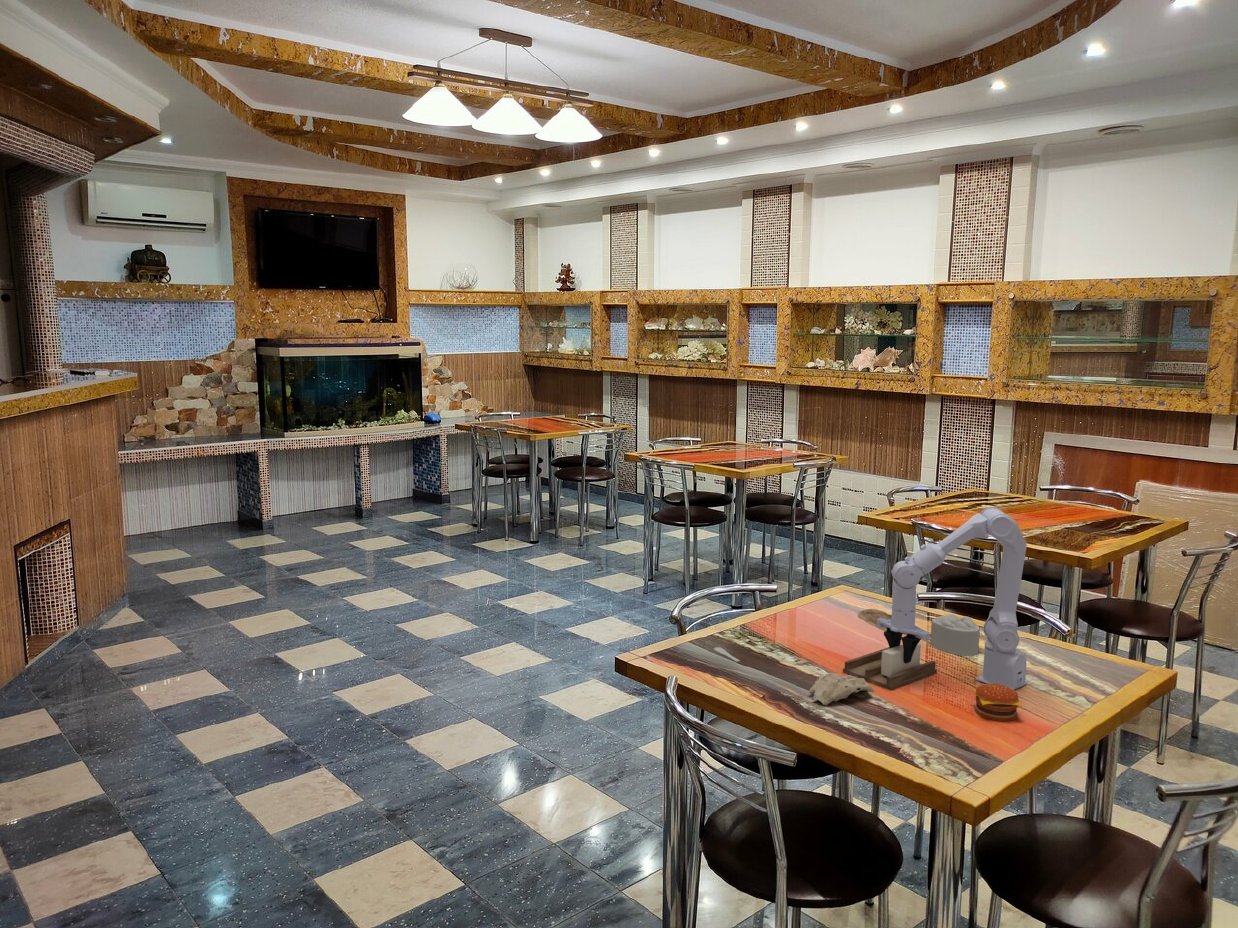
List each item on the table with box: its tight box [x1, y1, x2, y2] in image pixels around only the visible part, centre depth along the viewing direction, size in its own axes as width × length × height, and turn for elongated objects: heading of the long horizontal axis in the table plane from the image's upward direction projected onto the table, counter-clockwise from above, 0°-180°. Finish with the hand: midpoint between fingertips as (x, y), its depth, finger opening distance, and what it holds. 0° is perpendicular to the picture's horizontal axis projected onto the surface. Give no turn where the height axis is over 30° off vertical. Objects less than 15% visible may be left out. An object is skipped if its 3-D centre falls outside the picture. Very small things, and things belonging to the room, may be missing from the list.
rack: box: [842, 646, 938, 691], centre depth 231 cm, size 15×19×3 cm
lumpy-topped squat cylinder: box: [929, 613, 981, 657], centre depth 249 cm, size 10×13×9 cm
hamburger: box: [972, 683, 1023, 722], centre depth 206 cm, size 9×10×7 cm
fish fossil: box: [857, 608, 907, 636], centre depth 270 cm, size 26×10×1 cm, turn 18°
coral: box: [809, 672, 875, 706], centre depth 217 cm, size 15×12×5 cm
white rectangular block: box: [881, 643, 922, 677], centre depth 228 cm, size 3×12×6 cm, turn 127°
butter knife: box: [713, 647, 741, 662], centre depth 239 cm, size 1×24×3 cm
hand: (901, 660), depth 228 cm, fingers closed on white rectangular block, 3 cm apart
